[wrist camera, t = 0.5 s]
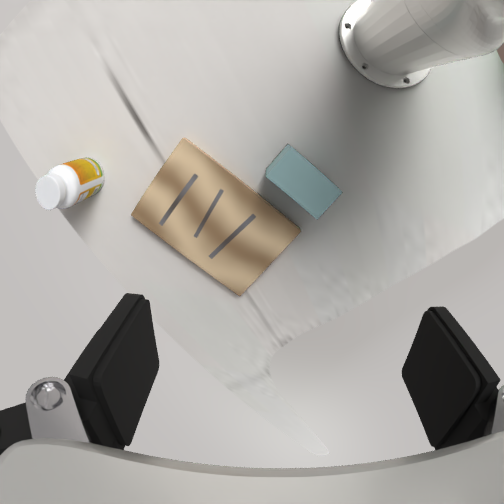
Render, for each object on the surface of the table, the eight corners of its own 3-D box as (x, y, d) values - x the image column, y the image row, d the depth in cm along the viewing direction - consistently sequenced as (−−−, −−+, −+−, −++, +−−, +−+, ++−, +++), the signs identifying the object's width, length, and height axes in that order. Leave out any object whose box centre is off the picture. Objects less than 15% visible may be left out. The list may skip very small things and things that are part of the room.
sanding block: (266, 168, 36) (265, 176, 31) (287, 143, 35) (291, 146, 29) (309, 205, 38) (317, 219, 32) (331, 181, 36) (342, 192, 31)
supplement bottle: (75, 154, 36) (31, 166, 27) (107, 159, 36) (65, 172, 27) (72, 191, 38) (30, 211, 29) (103, 198, 38) (64, 220, 29)
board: (185, 137, 35) (182, 138, 34) (299, 228, 39) (300, 231, 38) (134, 212, 39) (130, 214, 38) (240, 291, 43) (239, 296, 42)
